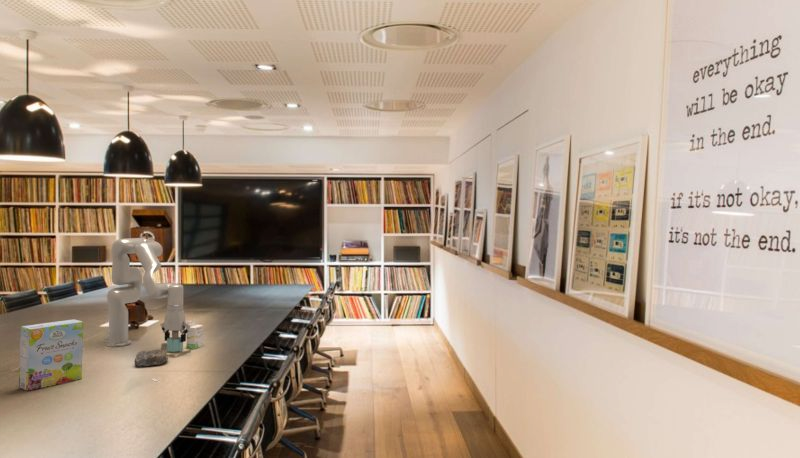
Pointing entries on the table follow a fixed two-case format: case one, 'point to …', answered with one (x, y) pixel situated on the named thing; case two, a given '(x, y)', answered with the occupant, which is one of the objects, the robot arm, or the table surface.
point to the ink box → (194, 335)
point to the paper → (154, 380)
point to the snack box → (50, 354)
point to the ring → (174, 344)
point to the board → (177, 353)
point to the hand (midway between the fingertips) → (175, 340)
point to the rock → (150, 358)
